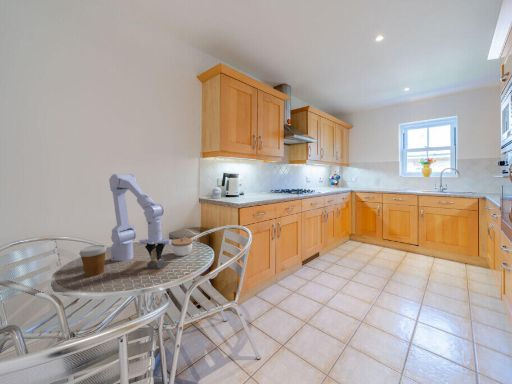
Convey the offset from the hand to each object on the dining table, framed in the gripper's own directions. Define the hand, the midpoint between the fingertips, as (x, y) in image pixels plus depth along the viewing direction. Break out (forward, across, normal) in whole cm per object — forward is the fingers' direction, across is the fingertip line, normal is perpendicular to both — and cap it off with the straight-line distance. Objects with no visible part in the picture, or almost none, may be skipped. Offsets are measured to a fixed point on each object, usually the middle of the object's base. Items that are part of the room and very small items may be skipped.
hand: (156, 259), depth 101 cm
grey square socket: (+4, 0, 0) cm, 4 cm away
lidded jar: (+4, +6, +16) cm, 18 cm away
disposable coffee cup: (+4, -23, -9) cm, 25 cm away
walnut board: (+4, -4, -2) cm, 6 cm away
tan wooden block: (+3, 0, 0) cm, 3 cm away
